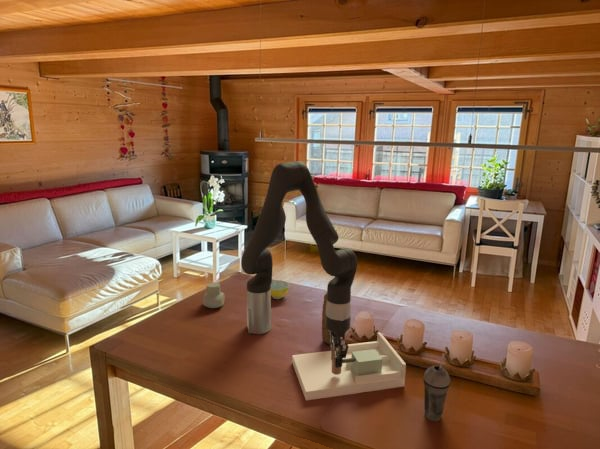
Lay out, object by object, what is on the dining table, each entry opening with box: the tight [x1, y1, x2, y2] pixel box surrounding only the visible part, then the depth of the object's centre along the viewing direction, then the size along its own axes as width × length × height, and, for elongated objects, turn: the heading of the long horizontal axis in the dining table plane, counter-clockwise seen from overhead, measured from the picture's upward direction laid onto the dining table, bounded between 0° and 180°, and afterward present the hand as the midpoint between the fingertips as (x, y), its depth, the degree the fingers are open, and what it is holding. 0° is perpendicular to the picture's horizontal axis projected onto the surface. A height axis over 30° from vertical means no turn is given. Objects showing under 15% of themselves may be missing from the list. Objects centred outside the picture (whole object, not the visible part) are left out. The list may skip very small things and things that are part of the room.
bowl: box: [271, 279, 290, 300], centre depth 196 cm, size 11×12×6 cm
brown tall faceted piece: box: [321, 292, 347, 345], centre depth 158 cm, size 11×8×20 cm
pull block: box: [332, 348, 382, 376], centre depth 133 cm, size 16×6×10 cm, turn 103°
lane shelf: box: [291, 332, 407, 401], centre depth 138 cm, size 32×20×8 cm, turn 103°
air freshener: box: [202, 281, 226, 309], centre depth 186 cm, size 11×8×10 cm
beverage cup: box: [422, 352, 451, 422], centre depth 118 cm, size 7×7×20 cm
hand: (336, 363), depth 132 cm, fingers closed on pull block, 3 cm apart
